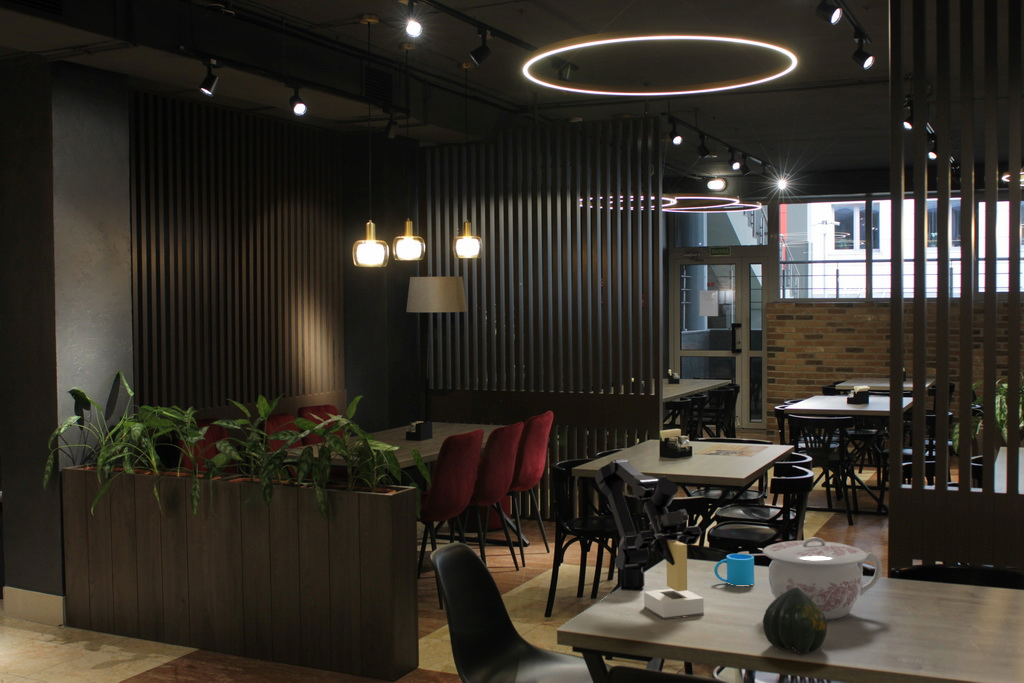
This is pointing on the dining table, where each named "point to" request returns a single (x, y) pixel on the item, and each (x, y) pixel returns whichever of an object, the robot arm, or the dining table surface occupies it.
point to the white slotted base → (673, 603)
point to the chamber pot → (821, 573)
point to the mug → (738, 569)
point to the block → (677, 566)
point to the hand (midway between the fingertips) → (679, 563)
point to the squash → (795, 622)
